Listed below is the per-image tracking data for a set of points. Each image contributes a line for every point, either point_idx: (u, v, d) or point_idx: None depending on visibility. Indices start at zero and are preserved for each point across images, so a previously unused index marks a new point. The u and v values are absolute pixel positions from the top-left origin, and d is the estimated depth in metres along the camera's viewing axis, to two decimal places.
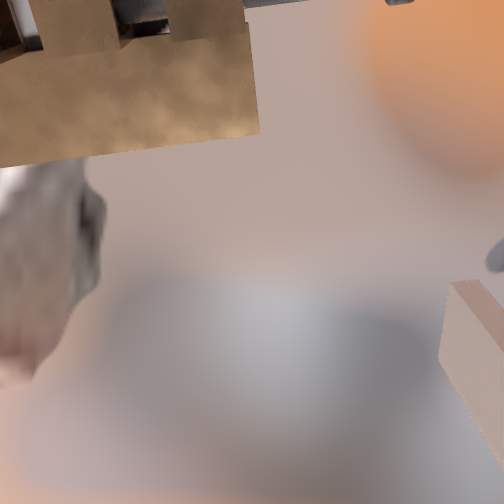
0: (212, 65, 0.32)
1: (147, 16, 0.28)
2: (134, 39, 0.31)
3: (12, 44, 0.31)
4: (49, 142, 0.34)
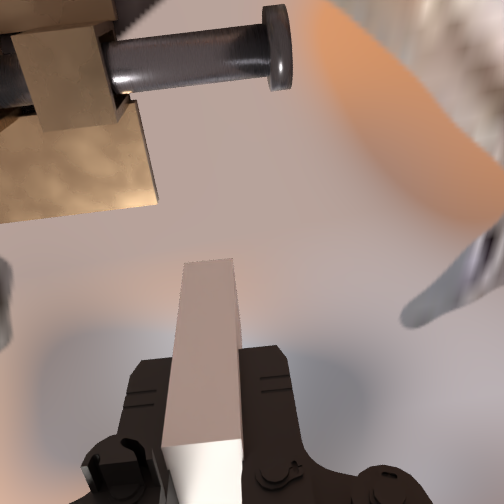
0: (102, 141, 0.32)
1: (22, 102, 0.28)
2: (20, 117, 0.31)
3: None
4: None
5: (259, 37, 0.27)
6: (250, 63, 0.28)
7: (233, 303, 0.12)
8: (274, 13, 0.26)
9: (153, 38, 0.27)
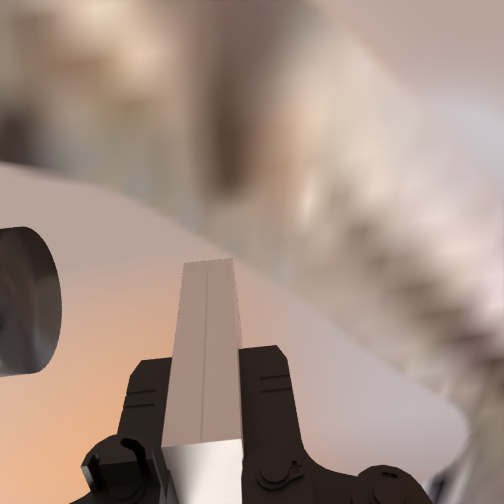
0: None
1: None
2: None
3: None
4: None
5: None
6: None
7: (233, 303, 0.12)
8: None
9: None
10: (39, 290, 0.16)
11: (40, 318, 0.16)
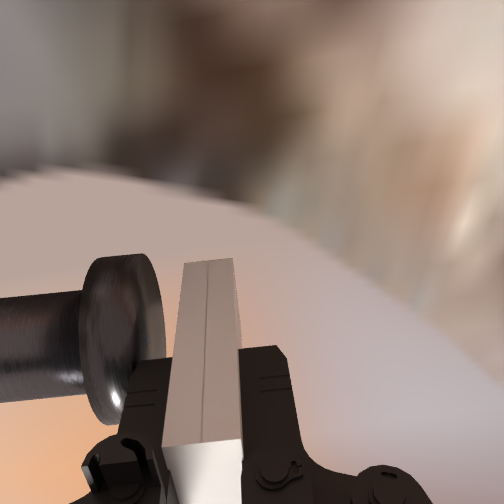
0: None
1: None
2: None
3: None
4: None
5: (73, 344, 0.12)
6: (58, 389, 0.13)
7: (233, 303, 0.12)
8: (99, 306, 0.12)
9: None
10: (153, 324, 0.14)
11: (155, 355, 0.14)
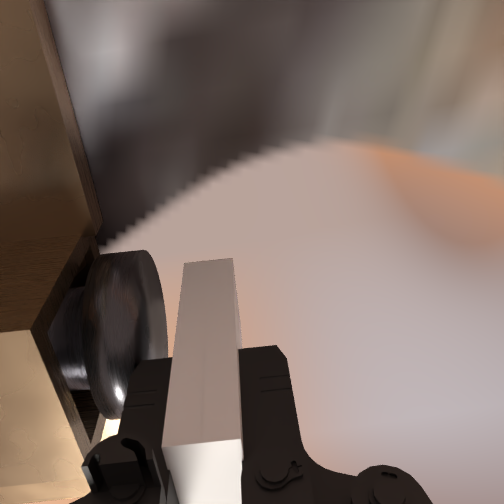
0: None
1: None
2: None
3: None
4: None
5: (76, 339, 0.12)
6: None
7: (233, 303, 0.12)
8: (101, 301, 0.12)
9: None
10: (155, 320, 0.14)
11: (157, 351, 0.14)
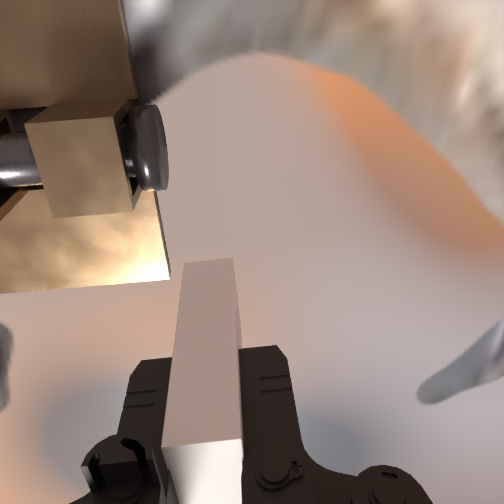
0: (115, 217, 0.31)
1: None
2: (29, 191, 0.29)
3: None
4: None
5: (124, 141, 0.25)
6: None
7: (233, 303, 0.12)
8: (138, 118, 0.25)
9: (12, 136, 0.26)
10: (162, 146, 0.27)
11: (163, 162, 0.27)
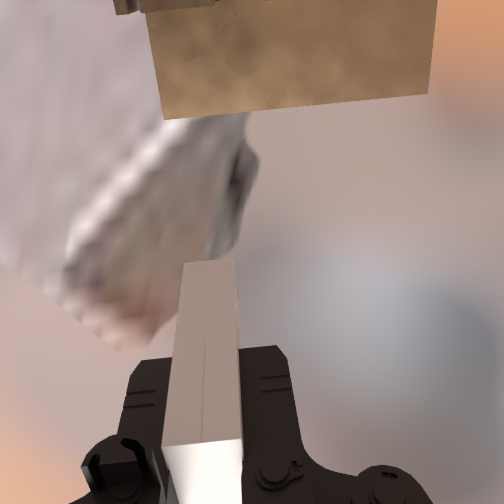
0: (396, 21, 0.33)
1: None
2: None
3: None
4: (222, 94, 0.34)
5: None
6: None
7: (233, 303, 0.12)
8: None
9: None
10: None
11: None
